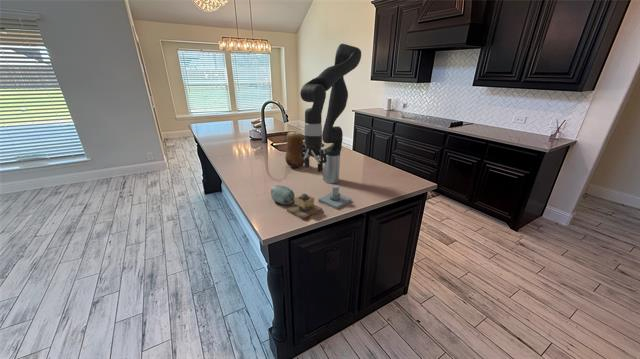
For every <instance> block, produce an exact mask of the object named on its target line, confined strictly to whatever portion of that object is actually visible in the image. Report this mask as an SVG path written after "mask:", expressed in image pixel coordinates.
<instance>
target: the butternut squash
mask: <svg viewBox="0 0 640 359" xmlns="http://www.w3.org/2000/svg"><path fill="white" fill-rule="evenodd" d="M303 144H304V136H303V134H302V133H301V132H298V131H289V132H287V134H286V152H285V157H284V159H285V162H286V164H287V165H288V166H289V167H291V168H293V169H299V168H302V167H303V166H304V165H305V162H304V158H303V157H301V145H303Z"/></svg>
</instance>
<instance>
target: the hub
mask: <svg viewBox="0 0 640 359" xmlns="http://www.w3.org/2000/svg"><path fill="white" fill-rule="evenodd" d="M331 185H332V184H331ZM331 188H332V189H331V192H330V193H328V194H326V195H324V196H321V197H319V198H318V202H319V203H321V204H322V205H323V204H324V205H325V206H328V207H330V208H332V209H335V210H338V209H340V208H342V207H344V206H345V205H347V204H349V203H351V202H352V198H351V197H348V196H346V195H343V194H341V193H340V192H339V190H340V187H339V185H338V184H333V185H332V186H331Z"/></svg>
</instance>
